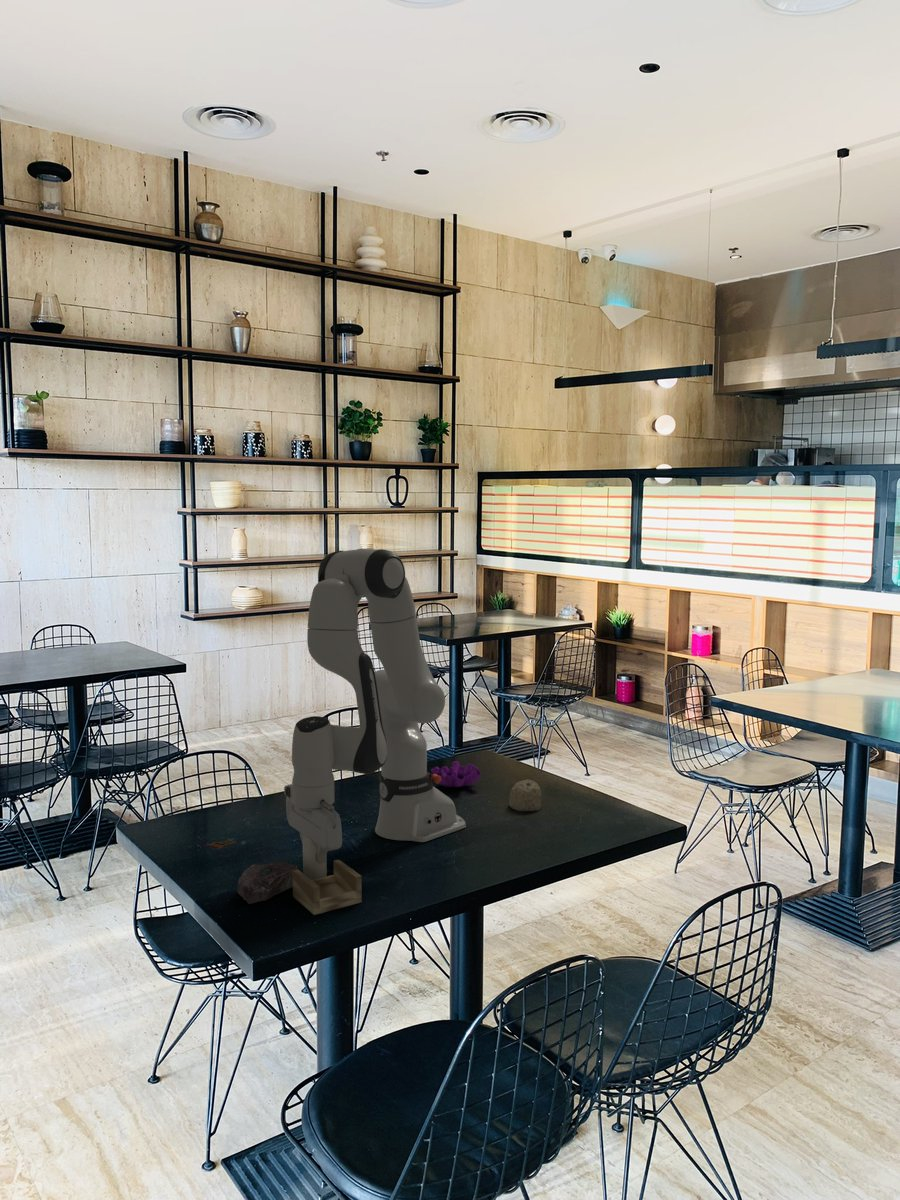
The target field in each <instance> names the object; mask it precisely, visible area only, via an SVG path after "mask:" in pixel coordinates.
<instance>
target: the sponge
mask: <svg viewBox="0 0 900 1200" xmlns="http://www.w3.org/2000/svg"><path fill="white" fill-rule="evenodd" d="M508 806H509V807H510V808H511V809H513V810H515V811H519V812H535V811H539V810H541V808H542V791H541V787H540V786H539V784H538V783H537V782H535V780H531V779H524V780H520V781H518V782H516V783H515V784H514V785H513V786H512V788H511V791H510V794H509V801H508Z"/></svg>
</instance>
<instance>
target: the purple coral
mask: <svg viewBox="0 0 900 1200" xmlns="http://www.w3.org/2000/svg"><path fill="white" fill-rule="evenodd" d="M430 772H431V774H432V775H433V774H437V775H439V776H440V777H441V781H439V782H440V783H439V785H442V786H444V787H448V788H460V787H467V786H471V785H473V784H475V783H477V781H478V780H479V779H481V777H482V772H481V771H480V770H479V767H477V766H475V765H474V764H472V763H467V764H466V766H464V765H460V762H459V761H457V760H455V761H454V760H453V761H452V762H451V764H450V767H449V768H448V766H447V765H445V766H443V767H441V768H439V767H438V766H433V767H432V768H431V769H430Z"/></svg>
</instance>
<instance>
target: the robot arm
mask: <svg viewBox="0 0 900 1200" xmlns="http://www.w3.org/2000/svg"><path fill="white" fill-rule="evenodd" d="M319 564H320V565H319V567H318V571H317V572H318V573H317V583H316V584H315V585H314V587H313V590H312V593H311V596H310V601H309V603H310V604H309V607H308V617H307V618H308V619H307V636H306V638H307V640H306V641H307V650H308V652H309V655H310V657H311V658H312V660H314V662H315V663H317V665H319V666H320V667H321V668H323V669H325V670H326V671H329V672H331V673H333V674H336V675H337V676H340V677H341V678H343V680H346V681H347V682H348V683H349V684H350V685H351V686H352V688H353V691H354V692H355V698H356V705H357V706H356V707H357V713H358V719H359V720H358V722H359V726H347V725H346V726H345V725H339V724H331V722H330V720H329V719H328V718H327V717H324V716H319V715H317V716H316V715H313V716H308V717H304V718H301V719H299V720H298V721H297V722H296V723H295V725H294V728H293V734H292V743H291V744H292V745H291V764H292V767H293V776H292V780H291V784H287V785H284V787H283V793H284V795H285V797H286V798H285V807H286V808H285V809H286V819H287V822H288V825H289V826H290V827H292V828H293V829H294V830H296V831H297V832H299V837H300V840H301V845H303V837H302V836H303V835H305V836H306V837H307V838H309V839H310V840H312V841H313V842H314V843H316V844H317V848H318V853H317V854H316V861H317V862H318V863H319V864H322V863H325V862H326V859H327V853H328V852H330V851H336V850H339V849H341V847H342V845H343V832H342V831H343V830H342V822H341V817H340V814H339V812H337V811H336V810H335V806H334V805H333V804H334V803H335V775H334V773H333V771H334V770H335V771H344V772H354V773H357V774H362V775H367V776H371V775H372V774H374V773H376V772H377V771H379V770H381V772H380V773H379V797H380V803H379V812H378V818H377V820H376V821H377V822H376V826H375V828H374V832H375V834H376V835H378V836H379V837H382V838H384V839H389V840H393V841H394V840H395V841H412V842H418V843H425V842H428V841H431V840H435V839H436V838H440V837H442V836H446V835H448V834H451V833H455V832H457V831H460V830H462V829H464V828H466V821H465V820H464V818H462V817H461V816H460V815H458V814H457V809H456V806H455V803H454V801H453V800H452V799H451V798H450V797H449V796H448V795H446V794H444V793H443V792H442V791H440V790H439V789H438V788H436V787H435V786H434V784H433V783H435V784H437V785H438V784H440V782H439V781H441V777H440V776H439V775H437V774H433V773H432V772H431V773H430V772H428V767H427V765H428V756H427V755H428V754H427V753H428V750H427V749H428V747H427V741H426V738H425V737H424V734H423V733H422V731H421V729H420V727H419V724H430V723H432V722H434V721H436V720H437V719H438V718H440V716H441V715H442V713H443V711H444V709H445V706H446V696H445V693H444V691H443V689H442V687H440V685H439V684H438V683H437V681H436V680H435V678H434V676H433V674H432V672H431V669H430V668H429V665H428V662H427V660H426V657H425V655H424V652H423V648H422V646H421V645H422V644H421V640H420V639H421V638H420V634H419V627H418V620H417V619H418V618H417V612H416V606H415V601H414V598H413V593H412V590H411V589H412V588H411V586H410V584H409V580H408V578H407V577H406V568H405V565H404V563H403V561H402V559H401V557H400V556H399V555H398V554H397V553H396V552H393V551H392V550H388V549H382V548H380V549H375V548H374V549H373V548H372V549H371V548H356V549H351V550H349V549H348V550H336V551H333V552H330V553H328V554H326V555H325V556H324V557H323V558H322V560H321V561H320V563H319ZM362 598H365V599H366V600H367V607H368V616H369V617H368V619H369V624H370V625H369V626H370V632H371V640H372V645H373V652H374V654H375V656H376V657H377V659H378V660H379V662H380V663H381V665H382V667H383V669H379V670H376V671H375V668H374V663H373V661H372V658H371V656H370V655H369V654H367V653H365V651H364V650H363V648H362V645H361V643H360V639H359V617H358V616H359V614H358V607H359V603H360V601H361V599H362Z"/></svg>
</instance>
